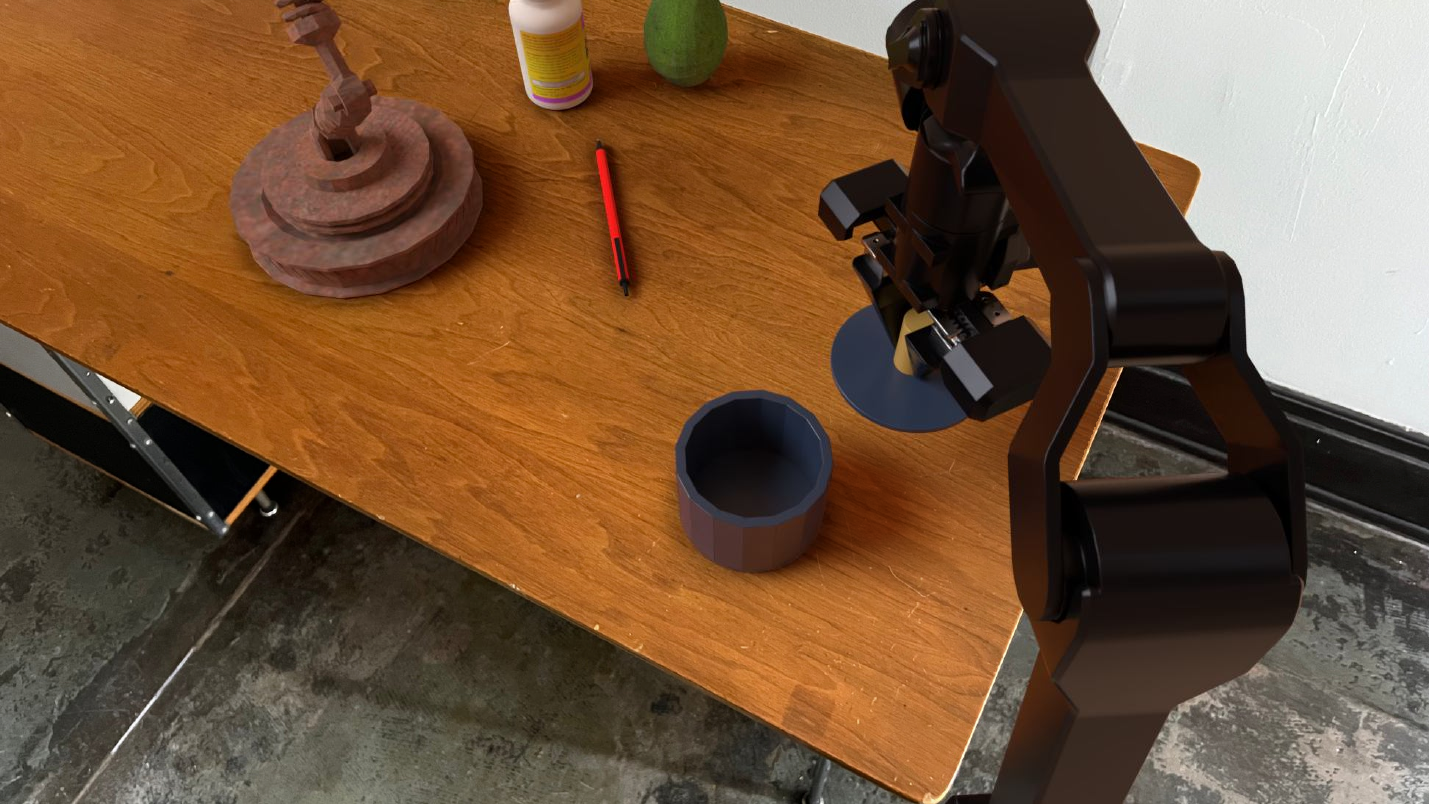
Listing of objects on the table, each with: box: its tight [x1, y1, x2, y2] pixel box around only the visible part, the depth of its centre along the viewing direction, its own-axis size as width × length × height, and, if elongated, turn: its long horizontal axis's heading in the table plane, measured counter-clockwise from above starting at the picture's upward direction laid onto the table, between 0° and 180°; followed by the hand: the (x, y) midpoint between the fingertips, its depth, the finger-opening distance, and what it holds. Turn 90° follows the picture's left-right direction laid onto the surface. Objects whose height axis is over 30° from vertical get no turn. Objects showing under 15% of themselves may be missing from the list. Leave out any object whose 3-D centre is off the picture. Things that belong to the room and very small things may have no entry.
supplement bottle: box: [508, 0, 594, 111], centre depth 90 cm, size 7×7×13 cm
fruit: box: [643, 0, 729, 88], centre depth 91 cm, size 8×8×12 cm
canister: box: [674, 389, 834, 574], centre depth 67 cm, size 10×10×8 cm
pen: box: [595, 139, 631, 298], centre depth 85 cm, size 1×19×1 cm, turn 10°
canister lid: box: [829, 303, 969, 434], centre depth 65 cm, size 11×11×6 cm
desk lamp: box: [228, 0, 484, 300], centre depth 71 cm, size 21×32×40 cm, turn 36°
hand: (911, 360), depth 66 cm, fingers closed on canister lid, 2 cm apart
